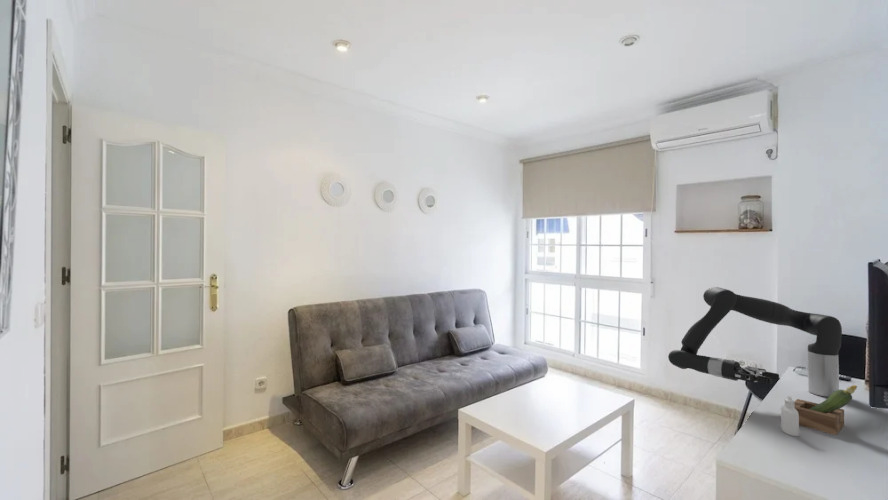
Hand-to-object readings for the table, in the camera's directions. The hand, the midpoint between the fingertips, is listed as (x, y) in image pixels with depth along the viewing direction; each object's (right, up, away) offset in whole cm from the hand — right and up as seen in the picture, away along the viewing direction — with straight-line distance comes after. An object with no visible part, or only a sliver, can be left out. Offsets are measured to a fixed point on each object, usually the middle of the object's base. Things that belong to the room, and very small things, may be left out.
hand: (775, 379), depth 142 cm
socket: (+6, -12, -9) cm, 17 cm away
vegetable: (+5, -12, -7) cm, 15 cm away
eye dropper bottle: (-9, -13, -16) cm, 22 cm away
